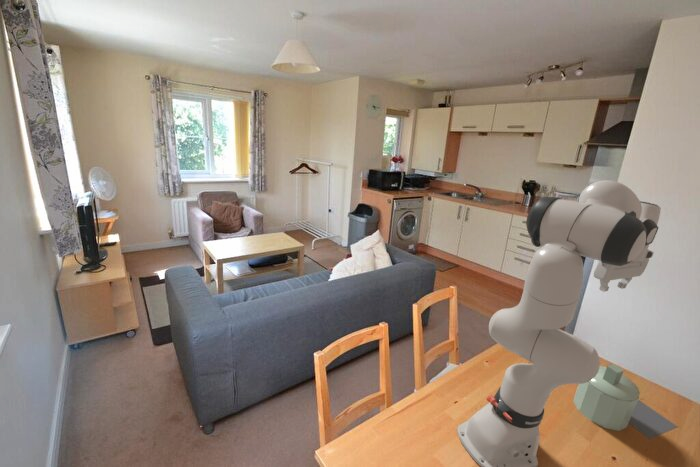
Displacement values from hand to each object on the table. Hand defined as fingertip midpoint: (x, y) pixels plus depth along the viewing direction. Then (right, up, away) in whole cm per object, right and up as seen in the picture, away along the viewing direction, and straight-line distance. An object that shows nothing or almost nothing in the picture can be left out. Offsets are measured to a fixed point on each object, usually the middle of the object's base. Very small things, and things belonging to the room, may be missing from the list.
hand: (612, 289), depth 106 cm
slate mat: (+8, -42, 0) cm, 43 cm away
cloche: (-5, -41, 0) cm, 41 cm away
